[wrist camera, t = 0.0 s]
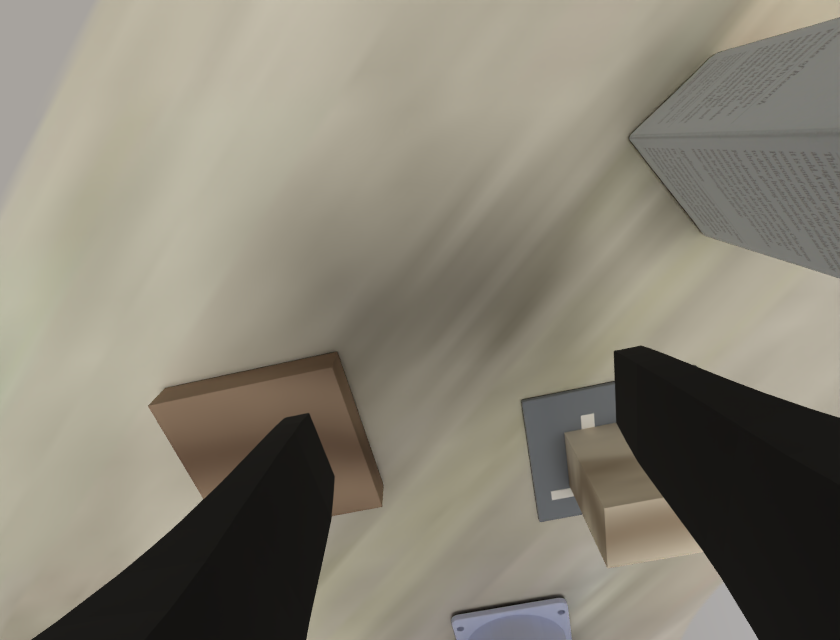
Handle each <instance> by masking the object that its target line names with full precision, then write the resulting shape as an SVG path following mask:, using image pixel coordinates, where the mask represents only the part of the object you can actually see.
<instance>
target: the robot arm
mask: <svg viewBox="0 0 840 640" xmlns="http://www.w3.org/2000/svg"><path fill="white" fill-rule="evenodd" d="M614 372H615V403H616V424H617V425H618V427H619V429H620V431H621V433H622V435H623V437H624V439H625V440H626V442H627V444H628V446H629V448H630V449H631V451H632V453H633V455H634V456H635V458H636V460H637V462H638V463H639V464H640V466H641V467H642V469H643V470H644V472H645V473H646V474H647V476H648V477H649V478H650V480H651V481H652V483H653V484H654V485H655V487H656V488H657V489H658V491H659V492H660V494H661V495H662V496H663V498H664V499H665V500H666V502H667V503H668V504H669V506H670V507H671V508H672V510H673V511H674V513H675V514H676V515H677V517H678V518H679V519H680V521H681V522H682V523H683V525H684V526H685V527H686V529H687V530H688V532H689V533H690V534H691V536H692V537H693V538H694V540H695V541H696V542H697V544H698V545H699V547H700V548H701V549H702V551H703V552H704V553H705V555H706V556H707V558H708V559H709V561H710V562H711V564H712V565H713V566H714V568H715V569H716V571H717V572H718V574H719V575H720V577H721V578H722V580H723V582H724V583H725V585H726V586H727V588H728V590H729V591H730V593H731V595H732V596H733V598H734V599H735V601H736V603H737V604H738V606H739V608H740V609H741V611H742V613H743V614H744V616H745V618H746V619H747V621H748V622H749V624H750V626H751V627H752V629H753V631H754V632H755V634H756V636H757V638H758V639H759V640H840V418H838V417H835V416H832V415H829V414H825V413H822V412H819V411H816V410H813V409H810V408H807V407H804V406H801V405H798V404H795V403H792V402H789V401H786V400H783V399H780V398H777V397H775V396H772V395H769V394H766V393H763V392H760V391H758V390H755V389H752V388H750V387H747V386H744V385H742V384H739V383H736V382H734V381H731V380H729V379H726V378H723V377H721V376H718V375H716V374H713V373H711V372H708V371H706V370H703V369H701V368H698V367H696V366H693V365H691V364H688V363H686V362H683V361H681V360H679V359H676V358H674V357H671V356H668V355H666V354H663V353H661V352H658V351H655V350H653V349H650V348H647V347H644V346H637V347H632V348H627V349H622V350H617V351H614ZM334 483H335V476H334V473H333V471H332V468H331V466H330V463H329V461H328V458H327V456H326V453H325V451H324V448H323V446H322V443H321V441H320V438H319V436H318V433H317V431H316V428H315V426H314V423H313V421H312V419H311V416H310V414H309V413H305V414H300V415H295V416H290V417H285V418H284V419H283V420H282V421H280V422H279V423H278V424H277V425H276V426H275V427H274V428H273V429H272V430H271V431H270V432H269V433H268V434H267V435H266V436H265V437H264V438H263V439H262V440H261V441H260V442H259V443H258V445H257V446H256V447H255V448H254V449H253V450H252V451H251V452H250V453H249V454H248V455H247V456H246V457H245V458H244V459H243V460H242V461H241V462H240V463H239V464H238V465H237V466H236V467H235V468H234V469H233V470H232V472H231V473H230V474H229V475H228V476H227V477H226V478H225V479H224V480H223V481H222V482H221V483H220V484H219V485H218V486H217V487H216V488H215V489H214V490H213V491H212V492H211V493H209V494H208V495H207V496H206V497H205V498H204V499H203V500H202V501H201V502H200V503H199V504H198V505H197V506H196V507H195V508H194V509H193V510H192V511H191V512H190V513H189V514H188V515H187V516H186V517H185V518H184V519H183V520H182V521H180V522H179V523H178V524H177V525H176V526H175V527H174V528H173V529H172V530H171V531H169V532H168V533H167V534H166V535H165V536H164V537H163V538H161V539H160V540H159V541H158V542H157V543H156V544H155V545H153V546H152V547H151V548H150V549H149V550H148V551H146V552H145V553H144V554H143V555H142V556H140V557H139V558H138V559H137V560H136V561H134V562H133V563H132V564H131V565H130V566H128V567H127V568H126V569H125V570H124V571H122V572H121V573H120V574H119V575H117V576H116V577H115V578H113V579H112V580H111V581H110V582H108V583H107V584H106V585H104V586H103V587H102V588H100V589H99V590H98V591H96V592H95V593H94V594H92V595H91V596H90V597H89V598H87V599H86V600H85V601H83V602H82V603H81V604H79V605H78V606H77V607H75V608H74V609H73V610H71V611H70V612H69V613H67V614H66V615H65V616H64V617H62V618H61V619H60V620H58V621H57V622H56V623H54V624H53V625H51V626H50V627H49V628H47V629H46V630H44V631H43V632H42V633H40V634H39V635H37V636H36V637H34V638H33V639H32V640H306V638H307V632H308V627H309V621H310V617H311V612H312V607H313V603H314V598H315V594H316V589H317V584H318V580H319V575H320V571H321V566H322V561H323V557H324V552H325V547H326V543H327V538H328V533H329V528H330V523H331V518H332V508H333V497H334ZM451 621H452V627H453V630H454V634H455V637H456V640H572V636H571V628H570V620H569V611H568V605H567V602H566V600H565V599H564V598H554V599H548V600H542V601H536V602H530V603H524V604H518V605H512V606H506V607H500V608H494V609H488V610H482V611H477V612H471V613H465V614H459V615H455V616H453V617H452V619H451Z"/></svg>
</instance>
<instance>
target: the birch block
mask: <svg viewBox="0 0 840 640" xmlns="http://www.w3.org/2000/svg"><path fill="white" fill-rule="evenodd" d="M564 435H565V445H566V455H567V465H568V475H569V485H570V488H571V490H572V493H573V495H574V497H575V499H576V501H577V503H578V506H579V508H580V510H581V512H582V514H583V516H584V519H585V521H586V523H587V525H588V527H589V529H590V532H591V534H592V536H593V538H594V540H595V542H596V544H597V547H598V549H599V551H600V553H601V555H602V557H603V560H604V562H605V564H606V566H607V568H613V567H619V566H624V565H630V564H636V563H642V562H648V561H654V560H659V559H665V558H671V557H677V556H683V555H689V554H694V553H700V552H703V551H702V549H701V548H700V547H699V545H698V544H697V542H696V541H695V540H694V538H693V537H692V536H691V534H690V533H689V532H688V530H687V529H686V527H685V526H684V525H683V523H682V522H681V521H680V519H679V518H678V517H677V515H676V514H675V513H674V511H673V510H672V508H671V507H670V506H669V504H668V503H667V502H666V500H665V499H664V498H663V496H662V495H661V494H660V492H659V491H658V489H657V488H656V487H655V485H654V484H653V483H652V481H651V480H650V478H649V477H648V476H647V474H646V473H645V472H644V470H643V469H642V467H641V466H640V464H639V463H638V462H637V460H636V458H635V456H634V455H633V453H632V451H631V449H630V448H629V446H628V444H627V442H626V440H625V439H624V437H623V435H622V433H621V431H620V429H619V427H618V425H617V424H616V423H612V424H606V425H601V426H596V427H591V428H586V429H581V430H575V431H570V432H565V433H564Z"/></svg>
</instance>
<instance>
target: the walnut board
mask: <svg viewBox="0 0 840 640" xmlns="http://www.w3.org/2000/svg"><path fill="white" fill-rule="evenodd" d="M148 407H149V408H150V410H151V412H152V413H153V415H154V417H155V418H156V420H157V422H158V423H159V425H160V427H161V429H162V430H163V432H164V434H165V435H166V437H167V439H168V440H169V442H170V444H171V445H172V447H173V449H174V450H175V452H176V454H177V455H178V457H179V459H180V460H181V462H182V464H183V465H184V467H185V469H186V470H187V472H188V474H189V475H190V477H191V479H192V481H193V482H194V484H195V486H196V487H197V489H198V491H199V492H200V494H201V496H202V497H203V499H204V498H205V497H206V496H207V495H208V494H209V493H211V492H212V491H213V490H214V489H215V488H216V487H217V486H218V485H219V484H220V483H221V482H222V481H223V480H224V479H225V478H226V477H227V476H228V475H229V474H230V473H231V472H232V470H233V469H234V468H235V467H236V466H237V465H238V464H239V463H240V462H241V461H242V460H243V459H244V458H245V457H246V456H247V455H248V454H249V453H250V452H251V451H252V450H253V449H254V448H255V447H256V446H257V445H258V443H259V442H260V441H261V440H262V439H263V438H264V437H265V436H266V435H267V434H268V433H269V432H270V431H271V430H272V429H273V428H274V427H275V426H276V425H277V424H278V423H279V422H280V421H282V420H283V419H284V418H285V417H290V416H295V415H300V414H305V413H309V414H310V416H311V419H312V421H313V423H314V426H315V428H316V431H317V433H318V436H319V438H320V441H321V443H322V446H323V448H324V451H325V453H326V456H327V458H328V461H329V463H330V466H331V468H332V471H333V473H334V476H335V483H334V497H333V508H332V516H335V515H340V514H346V513H351V512H356V511H362V510H367V509H373V508H378V507H382V500H383V483H382V480H381V477H380V474H379V471H378V468H377V465H376V462H375V460H374V457H373V454H372V451H371V448H370V445H369V442H368V439H367V436H366V434H365V431H364V428H363V425H362V422H361V419H360V416H359V413H358V410H357V408H356V405H355V402H354V399H353V396H352V393H351V390H350V387H349V385H348V382H347V379H346V376H345V373H344V370H343V367H342V364H341V361H340V359H339V356H338V353H337V352H333V353H328V354H323V355H319V356H314V357H309V358H305V359H300V360H295V361H291V362H286V363H281V364H276V365H272V366H267V367H262V368H258V369H253V370H248V371H244V372H239V373H234V374H229V375H225V376H220V377H215V378H211V379H206V380H201V381H197V382H192V383H187V384H183V385H178V386H173V387H168V388H165V389H164V390H163V391H162V392H161V393H160V394H159V395H158V396H157V397H156V398H155V399H154V400H153V401H152V402H151V403H150V404H149V405H148Z"/></svg>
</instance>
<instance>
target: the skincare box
mask: <svg viewBox="0 0 840 640" xmlns="http://www.w3.org/2000/svg"><path fill="white" fill-rule="evenodd" d="M629 139H630V141H631V142H632V143H633V145H634V146H635V147H636V148H637V149H638V151H639V152H640V153H641V155H642V156H643V157H644V159H645V160H646V161H647V162H648V164H649V165H650V166H651V168H652V169H653V170H654V171H655V173H656V174H657V175H658V177H659V178H660V179H661V180H662V182H663V183H664V184H665V186H666V187H667V188H668V189H669V191H670V192H671V193H672V194H673V196H674V197H675V198H676V199H677V201H678V202H679V203H680V205H681V206H682V207H683V208H684V210H685V211H686V212H687V213H688V215H689V216H690V217H691V218H692V220H693V221H694V222H695V224H696V225H697V226H698V228H699V229H700V230H701V232H702V233H703V234H704V235H705V236H707V237H711V238H714V239H717V240H720V241H723V242H726V243H730V244H733V245H736V246H739V247H742V248H745V249H748V250H751V251H754V252H758V253H761V254H764V255H767V256H770V257H774V258H777V259H780V260H783V261H786V262H789V263H793V264H796V265H799V266H802V267H806V268H809V269H812V270H815V271H818V272H821V273H824V274H828V275H830V276H833V277H836V278H840V17H839V18H836V19H832V20H829V21H825V22H822V23H819V24H815V25H812V26H808V27H805V28H801V29H797V30H794V31H791V32H788V33H784V34H780V35H777V36H773V37H770V38H766V39H763V40H759V41H756V42H753V43H749V44H746V45H742V46H739V47H735V48H732V49H728V50H725V51H721V52H718V53H716V54H715V55H713V56H712V57H711V58H709V59H708V60H707V61H706V62H705V63H704V64H703V65H702V66H701V67H700V68H699V69H698V70H697V71H696V72H695V73H694V74H693V75H692V76H691V77H690V78H689V79H688V80H687V81H686V82H685V83H684V84H683V85H682V86H681V87H680V88H679V89H678V90H677V91H676V92H675V93H674V94H673V95H672V96H671V97H670V98H669V99H668V100H666V101H665V102H664V103H663V104H662V105H661V106H660V107H659V108H658V109H657V110H656V111H655V112H654V113H653V114H652V115H651V116H650V117H649V118H647V119H646V120H645V121H644V122H643V123H642V124H641V125H640V126H639V127H638V128H637V129H636V130H635V131H634V132H633V133H632V134H631V135H630V137H629Z"/></svg>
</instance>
